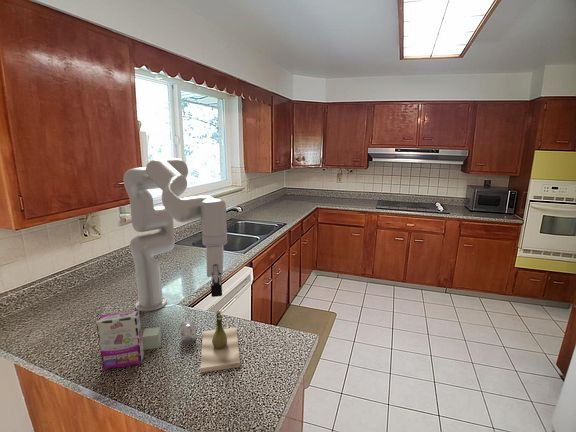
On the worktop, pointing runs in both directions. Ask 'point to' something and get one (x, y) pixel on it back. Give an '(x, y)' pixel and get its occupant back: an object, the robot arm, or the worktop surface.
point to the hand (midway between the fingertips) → (216, 289)
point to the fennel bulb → (219, 333)
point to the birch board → (219, 352)
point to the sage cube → (151, 338)
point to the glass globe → (188, 332)
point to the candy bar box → (120, 339)
